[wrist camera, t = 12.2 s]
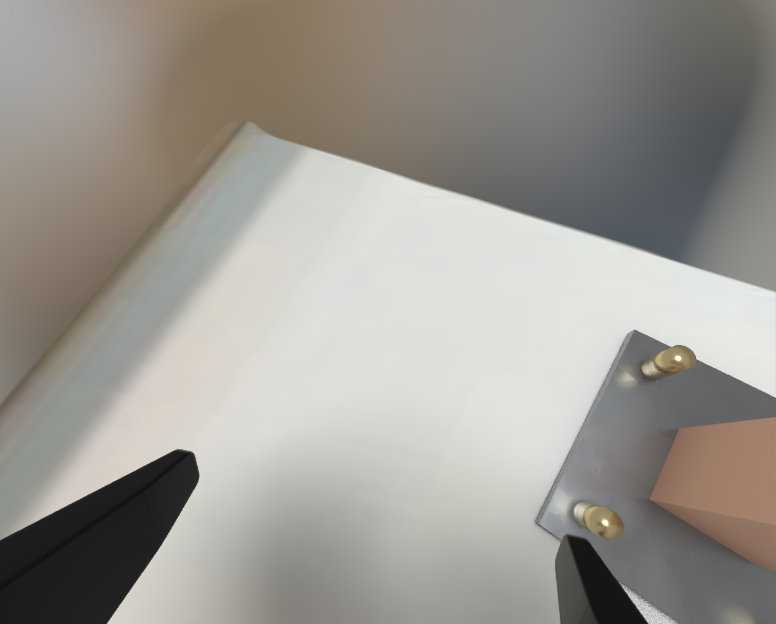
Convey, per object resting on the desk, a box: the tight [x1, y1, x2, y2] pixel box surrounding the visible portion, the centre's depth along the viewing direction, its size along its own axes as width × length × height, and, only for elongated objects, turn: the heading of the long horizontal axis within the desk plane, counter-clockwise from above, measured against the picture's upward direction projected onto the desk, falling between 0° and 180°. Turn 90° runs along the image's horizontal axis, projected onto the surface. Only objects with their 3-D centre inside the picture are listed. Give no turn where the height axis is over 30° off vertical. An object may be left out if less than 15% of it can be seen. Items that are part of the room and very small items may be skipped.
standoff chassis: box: [535, 330, 776, 624], centre depth 17 cm, size 12×12×3 cm
